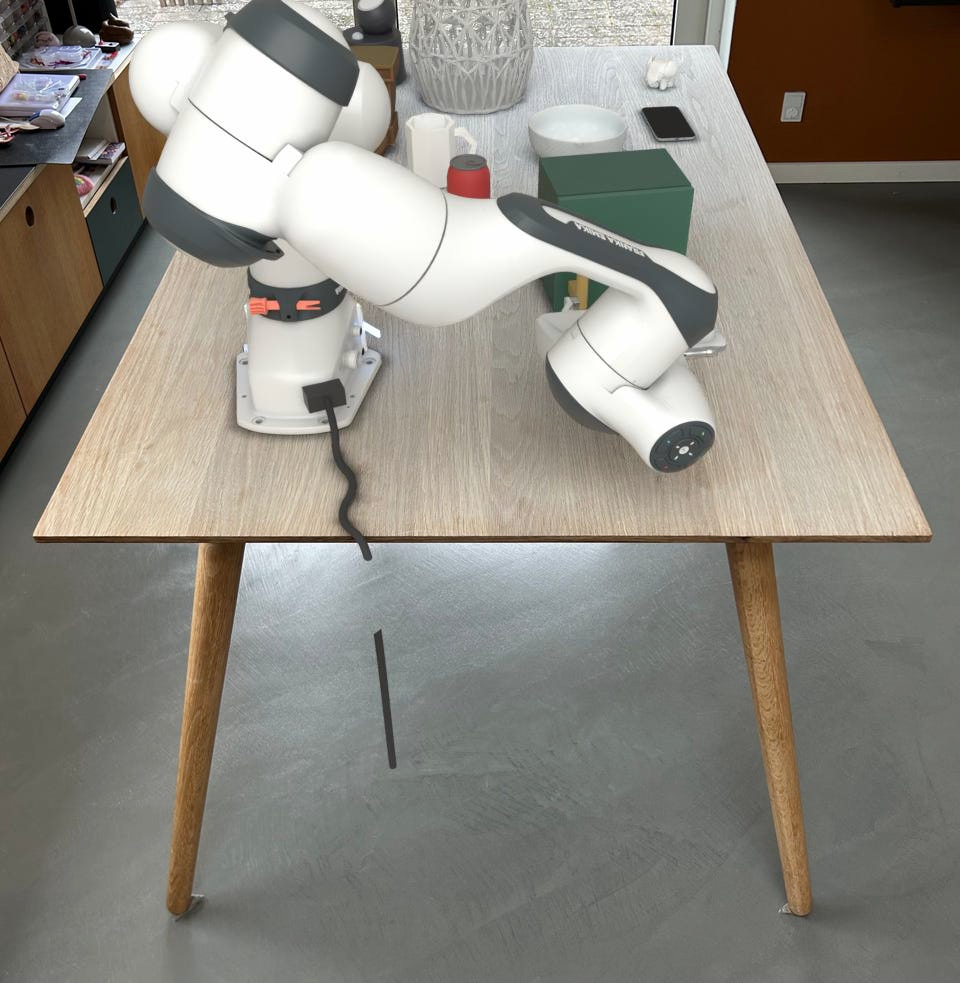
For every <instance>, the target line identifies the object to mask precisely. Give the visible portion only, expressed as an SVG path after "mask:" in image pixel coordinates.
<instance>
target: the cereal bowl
mask: <svg viewBox="0 0 960 983" xmlns="http://www.w3.org/2000/svg"><path fill="white" fill-rule="evenodd" d="M527 125H528V126H527V127H528V128H527V129H528V137H529V143H530V145H531V147H532V149H533V150H534V152H535V153H536V154H537V155H538V156H539V158H542V157H555V156H568V155H581V154H594V153H607V152H620V151H622V149H623V147H624V144H625V141H626V136H627V131H628V123H627V121H626V119H625V118H624V117H623V116H622V115H621V114H620V113H618V112H616V111H615V110H614V111H613V110H612V109H609V108H607V107H603V106H598V105H594V104H586V103H585V104H584V103H566V104H558V105H553V106H548V107H546V108H542V109H539V110H538V111H537V112H535V113H533V114H532V115H531V117H530V118H529V119H528V124H527Z"/></svg>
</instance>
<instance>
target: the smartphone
mask: <svg viewBox="0 0 960 983" xmlns="http://www.w3.org/2000/svg"><path fill="white" fill-rule="evenodd" d="M640 112H641V114H642V116H643V118H644V120H645V122H646V123H647V125H648V127H649V129H650V131H651V133H652V134H653V136H654V138H655V140H656V141H658V142H674V141H692V140H694V139H695V138H696V134H695V132H694V130H693V129H692V127H691V125H690V124H689V122H688V121H687V119H686V117H685V116H684V114H683V113H682V111H681V109H680V108H679V107H678V106H676V105H666V106H665V105H664V106H663V105H662V106H645V107H642V108H641V111H640Z"/></svg>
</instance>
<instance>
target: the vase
mask: <svg viewBox="0 0 960 983" xmlns="http://www.w3.org/2000/svg"><path fill="white" fill-rule="evenodd" d="M433 1H434V3H433V2H431V1H428V0H414V2H413V7H412V13H411V19H410V26H409V35H408V56H409V62H410V63H409V65H410V69H411V72H412V75H413V78H414V81H415V85H416V87H417V90H418V91H419V93H420V95H421V96H422V97H421V98H422V101H423V102H424V103H425V104H426V105H427V107H430V108H432V109H435V110H437V111H440V112H443V113H450V114H455V115H457V114H458V115H488V114H492V113H496V112H500V111H504V110H508V109H510V108H511V107H513V106H515V105H516V104H518V103H519V102H521V101H522V97H523V93H524V91H525V89H526V87H527V84H528V82H529V80H530V76H531V71H532V68H533V64H534V54H535V52H534V34H533V24H532V20H531V16H530V11H529V7H528V0H509V1H508V0H492V1H491V0H486V1H487V4H488V5H487V4H486V3H485V2H484V0H457V1H458V3H459V6H458V5H457V3H456V2H455V1H454V0H433ZM475 5H477V6H475ZM484 10H485V11H484ZM453 11H455V12H453ZM500 11H503V12H502V13H501V14H500ZM436 12H437V15H435V14H436ZM444 12H445V13H447V14H448V15H446V16H445V17H443V15H444ZM428 14H429V15H430V17H428ZM472 14H473V15H476V16H475V17H473V18H471V17H472ZM499 15H500V16H499ZM521 16H522V17H521ZM505 17H507V20H505V19H504V18H505ZM423 18H424V21H423ZM428 18H429V20H428ZM522 18H523V19H522ZM474 23H481V24H480V26H479V27H478V28H477V29H476V30H475V29H474V27H472V25H473V24H474ZM444 24H446V25H451V27H450V28H449V29H448V30H447V31H446V28H445V27H444ZM502 24H504V25H505V26H507V27H509V28H508V30H506V29H505V28H504V26H503V25H502ZM459 26H460V27H461V28H462V29H461V30H460V31H459V32H458V33H457V27H459ZM487 27H490V28H491V29H490V30H489V32H488V33H487ZM465 38H466V43H467V56H464V44H465ZM453 39H454V40H453ZM482 39H483V40H482ZM515 39H516V40H515ZM489 41H490V44H489V45H490V46H489V49H488V43H489ZM437 43H438V49H439V53H438V52H437ZM495 43H496V44H495ZM502 43H503V46H504V50H503V52H502V53H500V47H501V45H502ZM446 45H447V47H448V51H447V47H446ZM495 45H496V47H495ZM472 47H473V48H472ZM494 48H495V49H494ZM455 49H456V50H455ZM494 50H495V54H494ZM473 51H474V54H475V57H474V56H473ZM522 55H523V57H522ZM500 58H502V61H501V65H500V66H501V67H500V68H499V63H500ZM424 60H425V62H424ZM439 60H440V63H441V65H440V63H439ZM493 61H494V62H493ZM464 62H467V63H468V70H469V71H468V70H467V69H466V68H465V67H464ZM474 63H476V64H475V65H474ZM483 66H484V67H485V68H484V74H483V69H482V67H483ZM454 67H455V68H454Z"/></svg>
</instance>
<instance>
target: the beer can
mask: <svg viewBox="0 0 960 983" xmlns="http://www.w3.org/2000/svg"><path fill="white" fill-rule="evenodd" d="M446 192H448V193H451V194H453V195H457V196H461V197H466V198H474V199H491V172H490V168H489V165H488V161H487V159H486V157H484V156H482V155H480V154H476V153H475V154H467V153H463V154H458V155H456V156H455V157H453V158H452V159H451V160H450V166H449V168H448V172H447V187H446Z"/></svg>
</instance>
